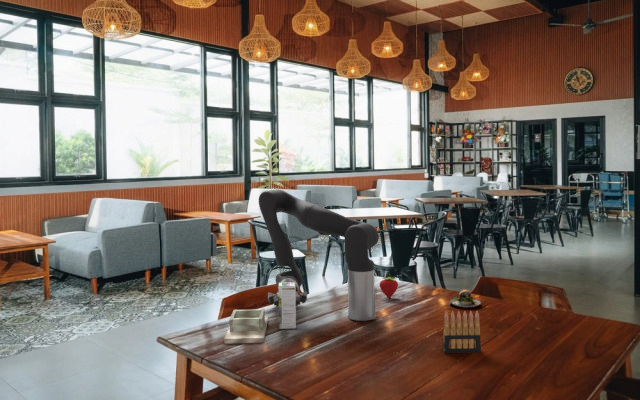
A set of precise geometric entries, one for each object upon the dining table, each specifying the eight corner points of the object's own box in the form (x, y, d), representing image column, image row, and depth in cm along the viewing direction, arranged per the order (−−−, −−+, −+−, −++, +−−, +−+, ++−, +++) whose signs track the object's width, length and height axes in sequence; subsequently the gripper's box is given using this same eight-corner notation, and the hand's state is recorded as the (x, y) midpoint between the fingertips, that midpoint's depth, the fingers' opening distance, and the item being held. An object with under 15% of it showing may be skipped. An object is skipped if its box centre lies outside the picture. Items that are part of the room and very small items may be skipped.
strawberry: (377, 296, 213) (377, 272, 213) (396, 295, 214) (395, 271, 213) (381, 300, 207) (381, 275, 207) (399, 299, 208) (399, 274, 208)
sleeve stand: (267, 320, 183) (267, 305, 183) (263, 342, 161) (263, 325, 161) (233, 321, 183) (233, 306, 182) (224, 343, 161) (223, 326, 160)
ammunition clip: (479, 350, 152) (479, 309, 151) (481, 352, 150) (481, 311, 150) (442, 350, 152) (442, 310, 151) (443, 352, 151) (443, 312, 150)
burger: (444, 307, 197) (444, 288, 196) (454, 300, 207) (454, 281, 206) (476, 312, 191) (477, 291, 190) (485, 304, 201) (485, 285, 200)
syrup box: (278, 324, 178) (277, 282, 177) (296, 323, 179) (295, 281, 177) (278, 329, 172) (277, 286, 171) (296, 328, 173) (295, 285, 172)
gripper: (267, 280, 188) (264, 293, 172) (307, 279, 189) (308, 291, 172) (268, 301, 189) (265, 315, 172) (308, 300, 190) (309, 314, 173)
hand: (286, 303), depth 172 cm, fingers closed on syrup box, 6 cm apart
